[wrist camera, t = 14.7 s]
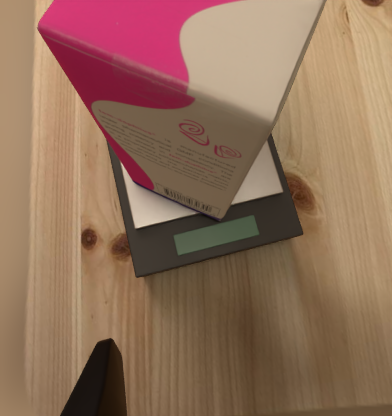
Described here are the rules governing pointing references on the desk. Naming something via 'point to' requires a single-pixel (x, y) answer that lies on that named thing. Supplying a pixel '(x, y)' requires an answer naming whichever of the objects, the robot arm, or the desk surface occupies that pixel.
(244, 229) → the scale
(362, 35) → the desk surface
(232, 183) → the supplement box
